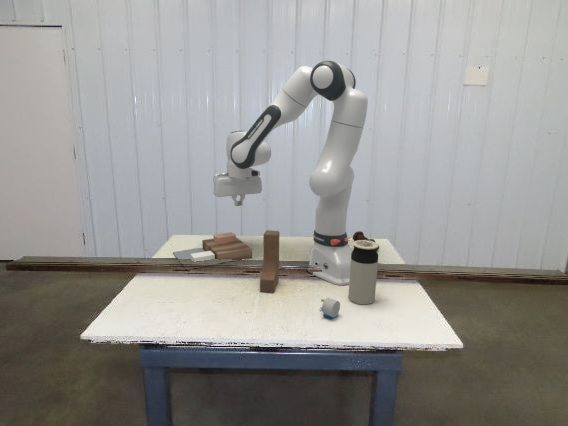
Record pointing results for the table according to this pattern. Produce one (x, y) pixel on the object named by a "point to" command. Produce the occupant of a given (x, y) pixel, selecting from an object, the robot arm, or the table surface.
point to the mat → (187, 253)
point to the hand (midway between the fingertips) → (238, 205)
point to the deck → (228, 249)
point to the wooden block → (270, 261)
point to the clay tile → (224, 237)
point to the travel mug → (363, 272)
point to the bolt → (361, 237)
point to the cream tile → (202, 256)
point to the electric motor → (330, 307)
